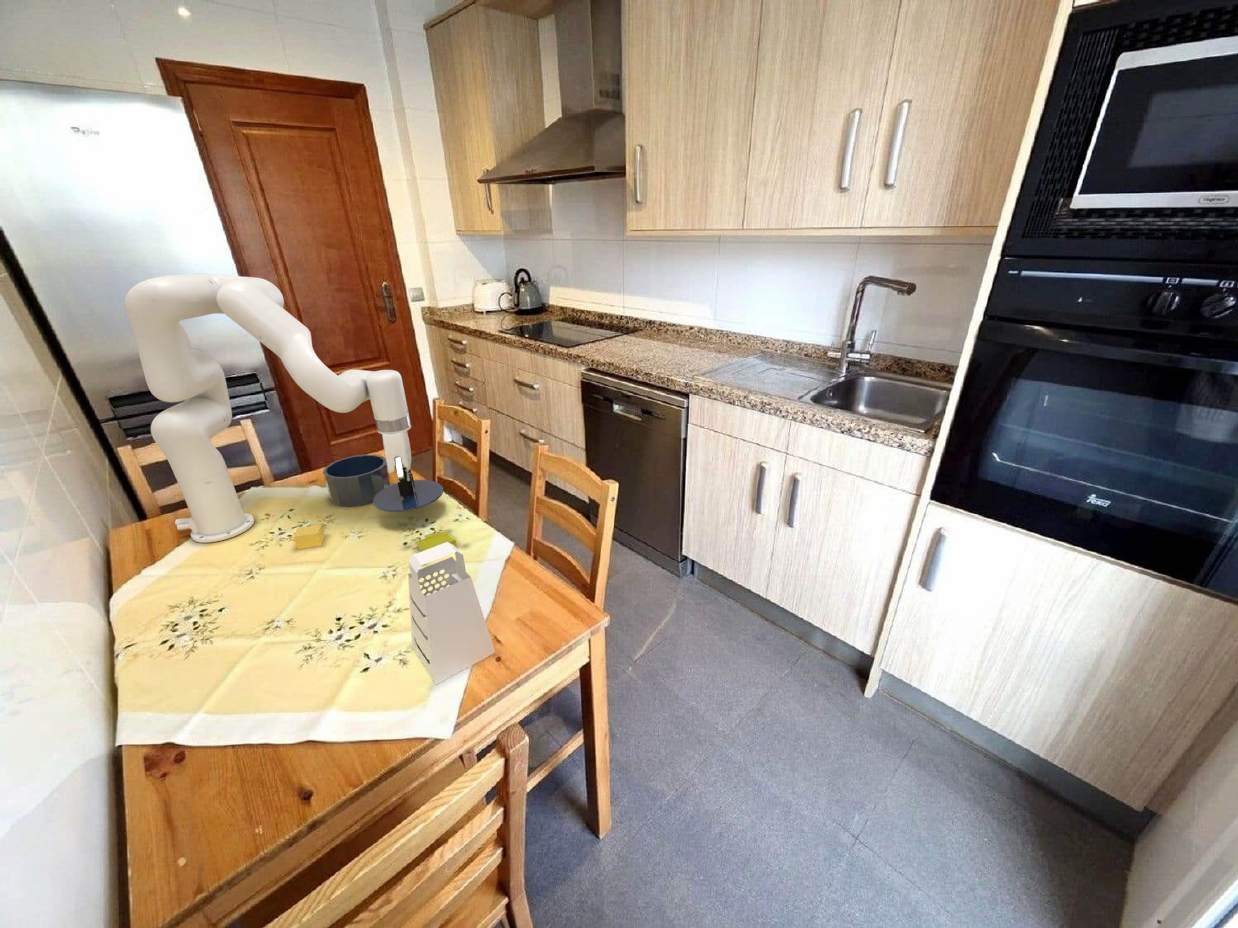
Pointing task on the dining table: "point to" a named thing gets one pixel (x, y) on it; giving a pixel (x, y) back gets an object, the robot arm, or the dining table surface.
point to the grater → (446, 615)
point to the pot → (356, 479)
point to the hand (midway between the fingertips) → (407, 491)
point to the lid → (422, 496)
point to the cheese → (309, 536)
